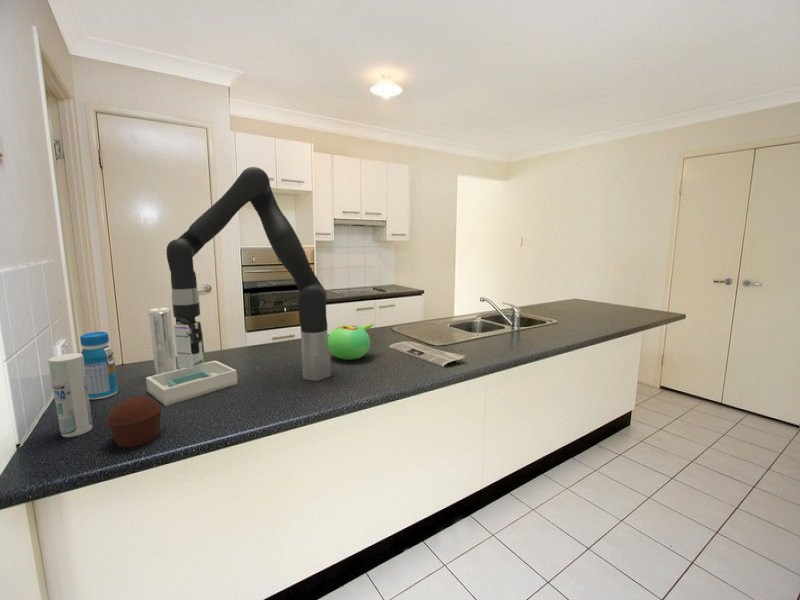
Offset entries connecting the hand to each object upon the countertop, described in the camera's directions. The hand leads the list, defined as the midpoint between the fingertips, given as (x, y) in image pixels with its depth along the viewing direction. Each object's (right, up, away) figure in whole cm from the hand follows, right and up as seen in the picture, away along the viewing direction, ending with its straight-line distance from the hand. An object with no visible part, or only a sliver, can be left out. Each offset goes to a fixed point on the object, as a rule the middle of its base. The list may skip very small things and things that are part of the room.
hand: (190, 351), depth 122 cm
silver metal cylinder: (-15, -11, +12) cm, 23 cm away
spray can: (-15, -17, -26) cm, 34 cm away
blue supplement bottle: (-26, -14, -3) cm, 30 cm away
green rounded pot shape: (+48, -8, +33) cm, 59 cm away
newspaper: (+80, -7, +38) cm, 89 cm away
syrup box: (0, -5, +1) cm, 5 cm away
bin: (0, -13, +2) cm, 13 cm away
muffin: (+3, -18, -29) cm, 34 cm away
